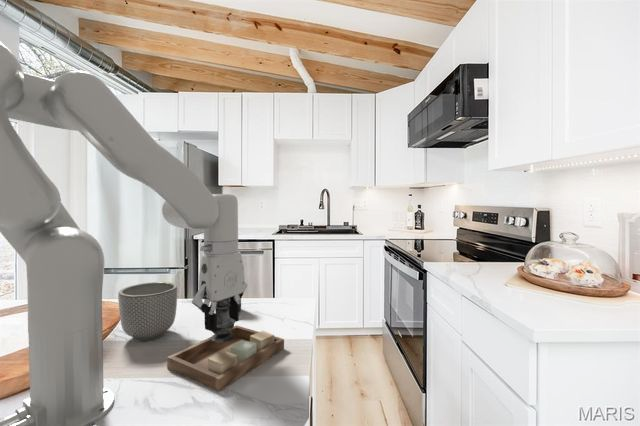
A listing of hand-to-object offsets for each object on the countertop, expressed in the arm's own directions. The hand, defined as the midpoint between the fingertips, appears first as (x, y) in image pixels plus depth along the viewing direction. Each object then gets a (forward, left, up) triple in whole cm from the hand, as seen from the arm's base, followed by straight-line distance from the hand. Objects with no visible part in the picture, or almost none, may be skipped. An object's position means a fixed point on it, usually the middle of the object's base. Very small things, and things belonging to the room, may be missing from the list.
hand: (222, 324), depth 72 cm
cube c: (+6, -7, -7) cm, 12 cm away
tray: (0, -2, -8) cm, 8 cm away
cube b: (0, -7, -7) cm, 10 cm away
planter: (-2, +26, -8) cm, 27 cm away
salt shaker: (0, 0, -3) cm, 3 cm away
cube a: (-6, -7, -7) cm, 12 cm away
